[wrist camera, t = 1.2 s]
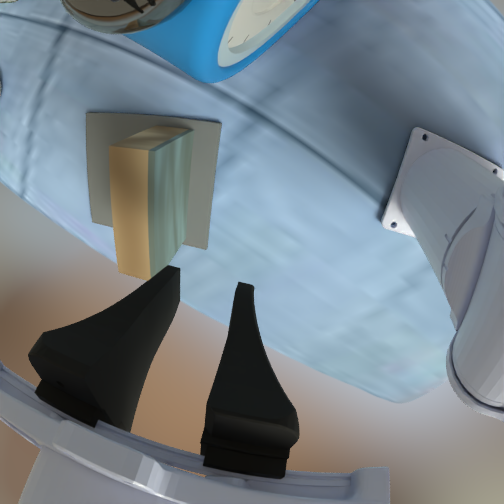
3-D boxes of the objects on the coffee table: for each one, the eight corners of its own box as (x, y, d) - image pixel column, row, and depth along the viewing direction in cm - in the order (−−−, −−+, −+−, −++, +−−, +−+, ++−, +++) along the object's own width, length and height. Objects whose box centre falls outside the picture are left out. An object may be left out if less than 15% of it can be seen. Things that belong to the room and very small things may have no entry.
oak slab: (194, 130, 19) (155, 151, 14) (186, 237, 24) (156, 283, 19) (156, 125, 19) (109, 145, 14) (153, 230, 24) (118, 272, 19)
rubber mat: (221, 123, 19) (220, 123, 18) (207, 247, 25) (206, 249, 24) (89, 112, 19) (86, 113, 19) (94, 220, 25) (92, 222, 25)
